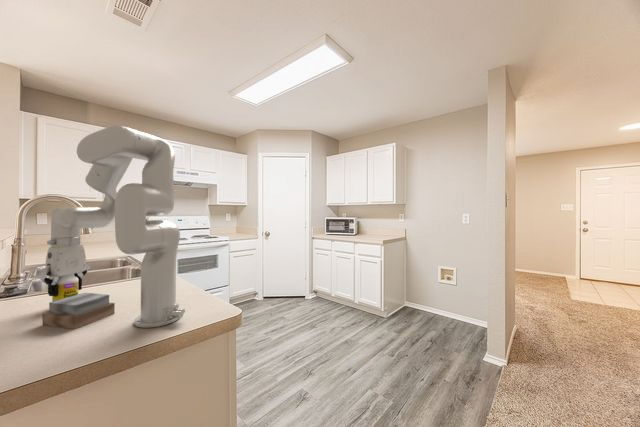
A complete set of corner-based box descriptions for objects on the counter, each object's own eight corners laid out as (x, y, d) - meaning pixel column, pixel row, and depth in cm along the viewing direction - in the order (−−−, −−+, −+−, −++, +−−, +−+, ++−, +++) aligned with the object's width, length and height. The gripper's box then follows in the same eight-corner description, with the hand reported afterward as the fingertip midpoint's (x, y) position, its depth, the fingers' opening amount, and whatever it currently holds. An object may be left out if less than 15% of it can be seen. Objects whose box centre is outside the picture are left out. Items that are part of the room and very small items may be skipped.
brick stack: (114, 313, 88) (114, 294, 88) (74, 329, 76) (74, 306, 76) (85, 310, 90) (85, 291, 90) (42, 325, 78) (42, 303, 78)
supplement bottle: (61, 311, 89) (62, 273, 89) (46, 309, 90) (47, 272, 90) (83, 304, 96) (83, 269, 95) (69, 302, 97) (69, 268, 97)
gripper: (44, 245, 83) (43, 301, 84) (99, 240, 101) (99, 286, 101) (26, 244, 85) (25, 299, 85) (83, 239, 102) (83, 285, 102)
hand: (65, 292), depth 93 cm, fingers closed on supplement bottle, 6 cm apart
